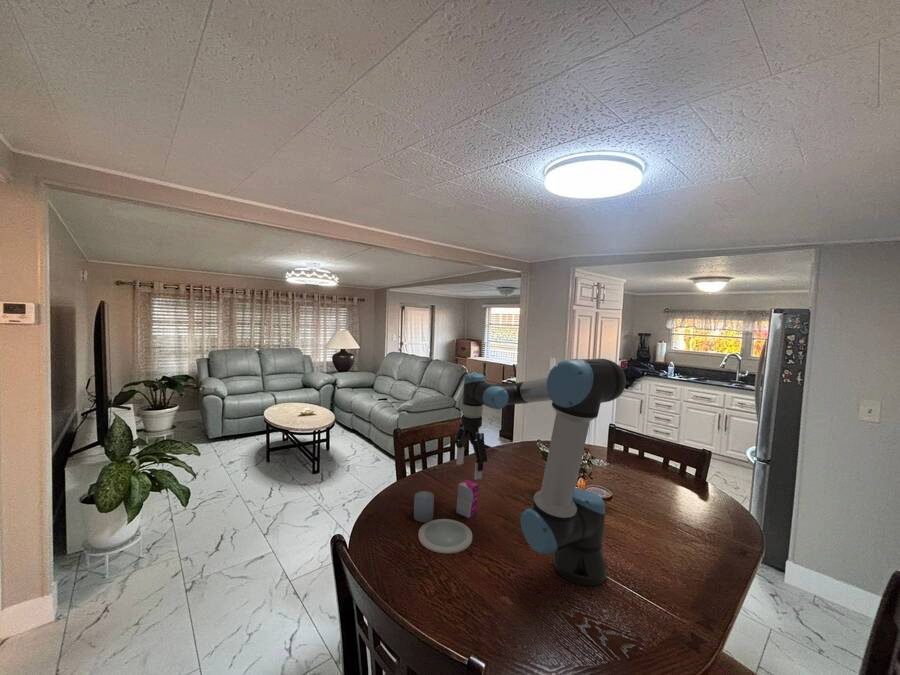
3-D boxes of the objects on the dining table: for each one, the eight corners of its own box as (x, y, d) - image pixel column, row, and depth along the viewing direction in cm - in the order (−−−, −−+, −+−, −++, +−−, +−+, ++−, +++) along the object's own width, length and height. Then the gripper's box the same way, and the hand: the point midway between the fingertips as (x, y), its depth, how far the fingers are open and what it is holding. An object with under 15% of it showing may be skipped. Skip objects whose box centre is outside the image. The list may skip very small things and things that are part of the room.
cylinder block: (436, 519, 135) (437, 498, 135) (418, 523, 132) (419, 501, 131) (428, 510, 141) (429, 489, 141) (410, 514, 138) (411, 493, 138)
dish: (482, 545, 121) (482, 541, 121) (432, 559, 113) (432, 555, 113) (456, 517, 137) (456, 514, 137) (410, 528, 129) (410, 524, 129)
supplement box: (468, 519, 136) (470, 489, 136) (455, 513, 140) (457, 483, 139) (477, 513, 141) (479, 483, 140) (464, 508, 144) (466, 479, 144)
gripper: (500, 424, 129) (495, 484, 130) (464, 406, 151) (461, 457, 153) (481, 426, 126) (477, 487, 127) (447, 407, 148) (444, 459, 149)
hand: (468, 471), depth 140 cm, fingers open, 13 cm apart
